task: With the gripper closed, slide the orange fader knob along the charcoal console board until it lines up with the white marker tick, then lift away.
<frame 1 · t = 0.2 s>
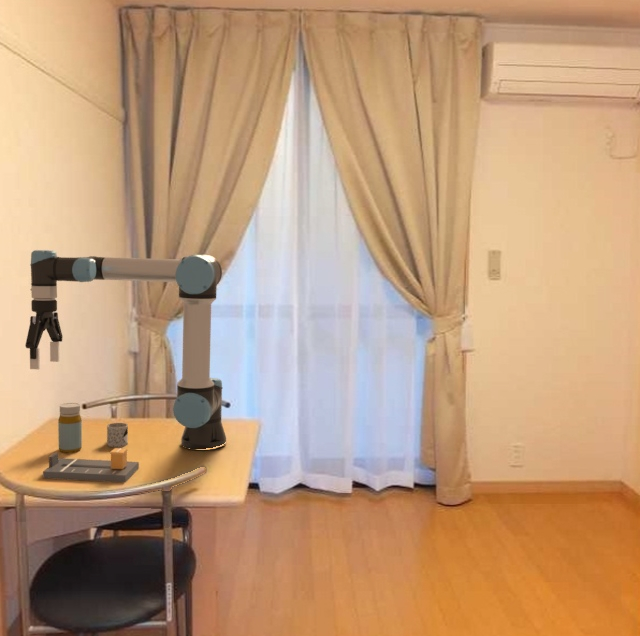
hand: (45, 365, 217), 28 cm above the table, fingers open, 13 cm apart
fader: (118, 458, 199), point 5 cm above the table, slide at 0.0 cm
console: (92, 473, 200), on the table
bottle: (70, 450, 220), on the table
mug: (117, 443, 230), on the table
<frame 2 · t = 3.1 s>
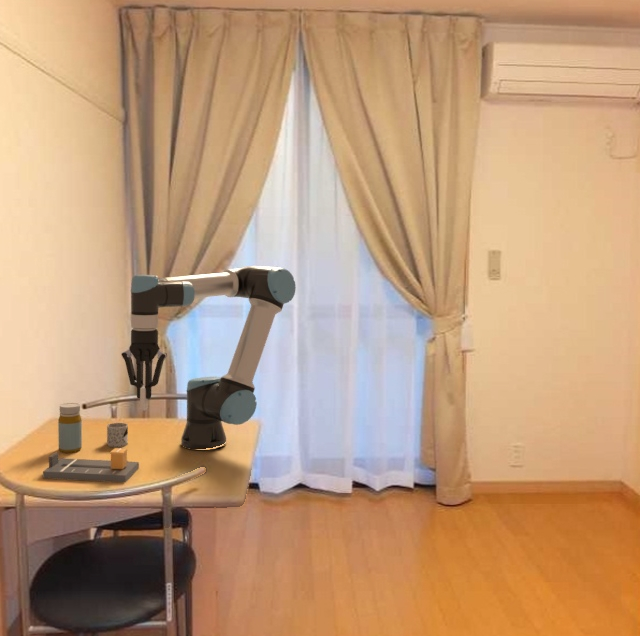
hand: (144, 409, 197), 20 cm above the table, fingers closed
nothing on the table moved.
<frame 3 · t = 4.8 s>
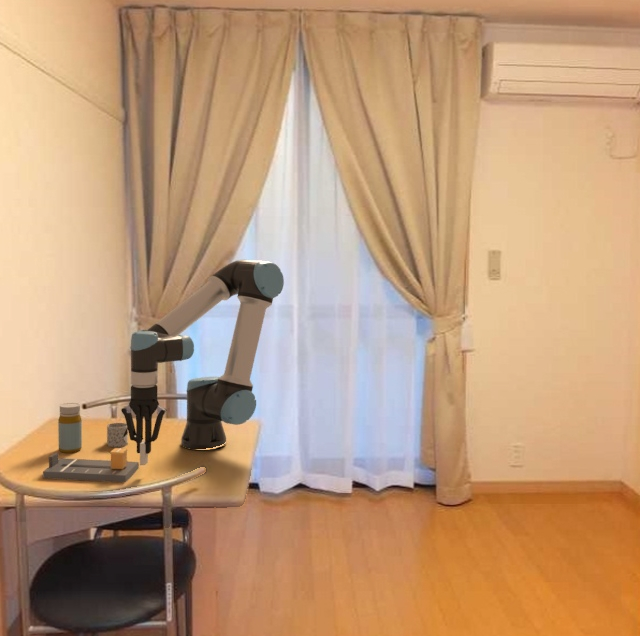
hand: (143, 463, 199), 4 cm above the table, fingers closed
nothing on the table moved.
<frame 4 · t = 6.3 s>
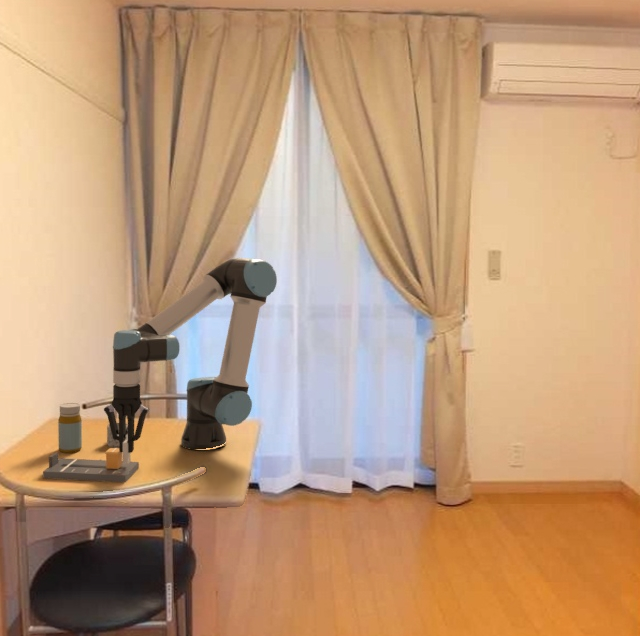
hand: (126, 462, 199), 4 cm above the table, fingers closed
fader: (114, 458, 199), point 5 cm above the table, slide at 1.4 cm, touching gripper
everything else where it was.
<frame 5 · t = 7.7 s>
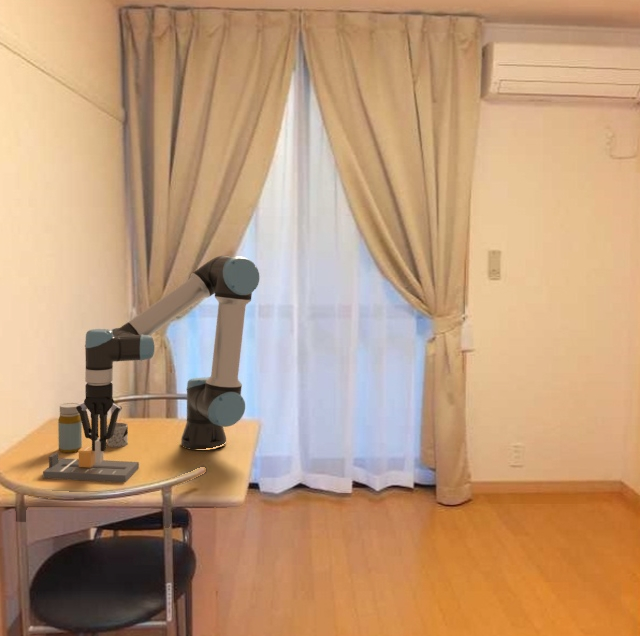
hand: (99, 461, 199), 4 cm above the table, fingers closed
fader: (86, 456, 199), point 5 cm above the table, slide at 9.5 cm, touching gripper
everything else where it was.
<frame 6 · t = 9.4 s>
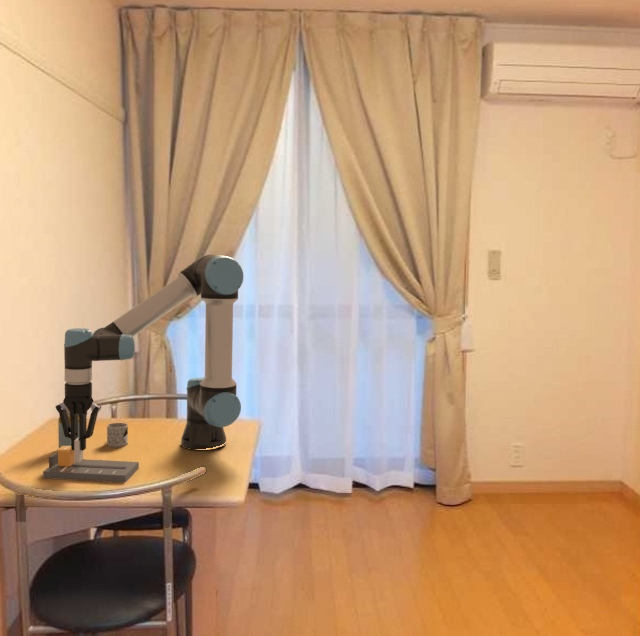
hand: (78, 460, 199), 4 cm above the table, fingers closed
fader: (66, 455, 199), point 5 cm above the table, slide at 15.7 cm, touching gripper
everything else where it was.
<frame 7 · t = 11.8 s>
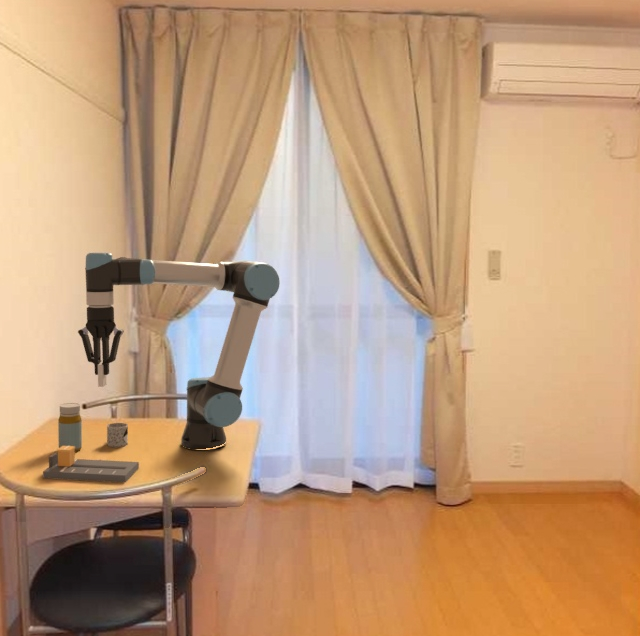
hand: (102, 385, 199), 26 cm above the table, fingers closed
fader: (66, 455, 199), point 5 cm above the table, slide at 15.7 cm
everything else where it was.
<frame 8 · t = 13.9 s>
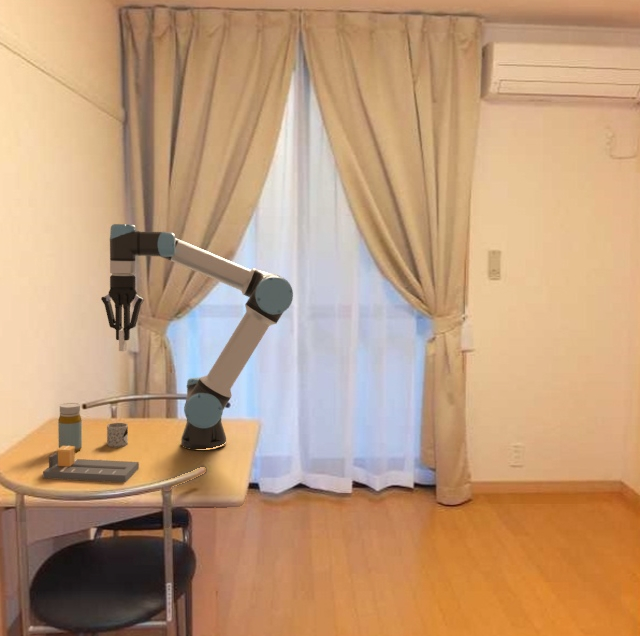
hand: (122, 350, 211), 34 cm above the table, fingers closed
nothing on the table moved.
at the end: fader slide at 15.7 cm; fader touching nothing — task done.
